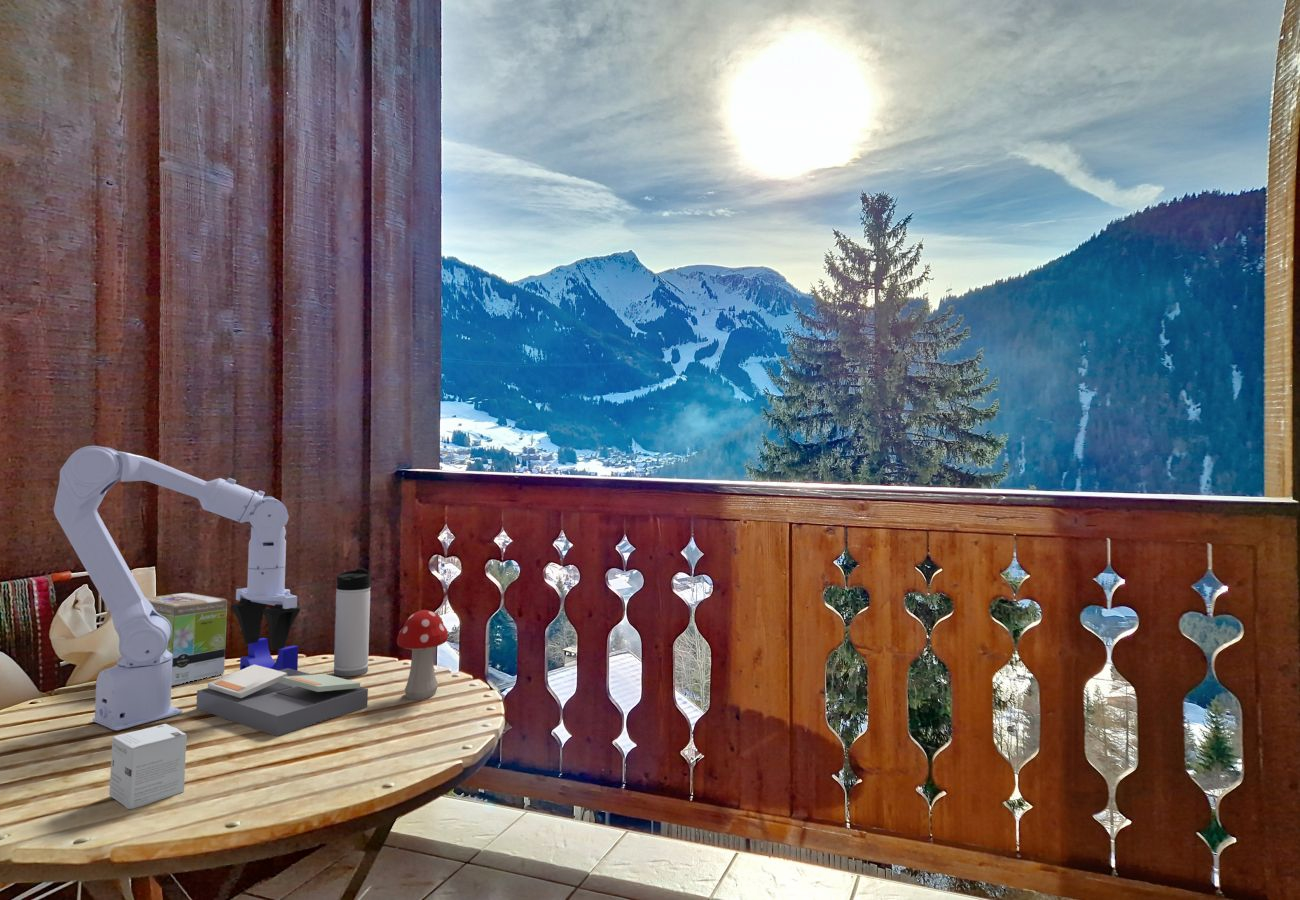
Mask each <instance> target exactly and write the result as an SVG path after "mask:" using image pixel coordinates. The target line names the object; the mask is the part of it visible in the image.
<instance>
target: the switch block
mask: <svg viewBox="0 0 1300 900" xmlns="http://www.w3.org/2000/svg"><path fill="white" fill-rule="evenodd" d="M278 671H281V672H285V673H287V676H302V675H314V674H311V673H308V672H306V671H305V672H304V671H302V670H301V671H300V670H298V671H297V670H293V669H289V668H286V669H282V670H278ZM281 681H282V680H281ZM281 681H279V682H277V683H274V684H272V685H270V686H268V687H265V688H263V689H261V690H259V691H256V692H254V693H252V694H250V695H247V696H245V697H243V698H238V697H235V696H232V695H229V694H226V693H222V692H219V691H216V690H213V689H209V688H208V687H206V688H202V689H197V690H196V704H195V705H196V707H195V708H196V710H199V711H201V712H202V711H203V712H205V713H208V714H211V715H212V716H216V717H220V718H222V719H225V720H229V721H231V722H235V723H237V724H239V725H240V724H241V725H243V726H246V727H249V728H252V729H255V730H257V731H260V732H264V733H267V734H269V735H271V736H272V735H273V736H275V737H280V736H282V734H283V735H286V734H289V733H292V732H295V731H298V730H300V728H301V729H304V728H307V727H309V725H310V726H313V725H315V724H314V723H316V724H318V723H317V722H319V723H321V722H320V721H322V722H324V721H323V720H325V721H327V720H326V719H328V720H330V719H329V718H331V719H334V718H337V717H340V716H343V715H346V714H349V713H352V712H355V711H359V710H361V709H365V708H367V707H368V705H369V704H368V703H369V702H368V700H369V698H368V697H369V696H368V695H369V689H368V688H366V687H362V686H360V688H353V689H343V690H332V691H321V692H316V691H313V690H309V689H305V688H302V687H298V686H295V685H291V684H287V683H284V682H281ZM333 717H334V718H333ZM312 724H313V725H312ZM306 726H307V727H306ZM297 729H298V730H297ZM285 733H286V734H285ZM279 735H280V736H279Z"/></svg>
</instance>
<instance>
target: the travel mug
mask: <svg viewBox="0 0 1300 900" xmlns="http://www.w3.org/2000/svg"><path fill="white" fill-rule="evenodd" d="M335 590H336V593H335V615H334V616H335V621H334V622H335V623H334V624H335V625H334V652H333V653H334V654H333V657H334V658H333V674H334V675H335V676H336V675H337V676H336V677H340V678H342V677H343V678H345V677H346V678H348V677H349V678H350V677H357V676H361V675H365V674H366V673H367V672H368V670H369V648H370V647H369V645H370V644H369V643H370V618H371V617H370V614H371V613H370V611H371V609H370V608H371V571H370V570H367V568H356V569H355V570H348V571H343V572H340V573H338V574H337V575H336V589H335Z"/></svg>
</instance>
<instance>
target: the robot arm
mask: <svg viewBox="0 0 1300 900" xmlns="http://www.w3.org/2000/svg"><path fill="white" fill-rule="evenodd" d="M119 481H120V482H121V483H123V482H141V481H142V482H143V481H145V482H148V483H151V484H155V485H156V486H161V487H163V488H165V489H168V490H169V489H170V490H172V491H173V492H174V491H175V492H178V493H180V494H184V495H187V496H189V497H192V498H195V499H198V501H199V504H200V505H201V508H202V510H204V511H207V512H209V513H210V512H211V513H213V514H216V515H219V516H222V517H224V518H226V519H230V520H232V521H235V522H239V523H241V524H243V523H246V522H248V523H250V525H251V527H250V539H249V542H248V554H247V555H248V561H247V584H246V585H247V587H243V588H237V589H236V591H235V600H236V601H238V603H237V602H236V603H233V604H231V606H230V609H231V610H232V611H233V613H234V615H235V617H236V619H237V621H238V625H239V627H240V631H241V635H242V640H243V643H244V644H245V645H249V644H250V643H255V642H258V640H259V639H260V636H261V628H262V621H263V617H265V620H266V624H267V629H268V636H269V637H268V639H269V640H268V643H269V646H270V648H269V649H270V650H271V651H277V650H278V651H279V649H282V648H284V647H286V644H287V641H288V637H289V634H290V631H291V628H292V625H293V623H294V622H295V620H296V619H297V616H298V615H299V613H300V612H301V607H300V606H298V595H294V594H291V590H290V589H288V588H287V589H286V585H285V584H286V561H287V560H286V557H287V556H286V552H287V540H286V539H285V537H286V535H287V531H286V525H287V524H288V522H289V518H290V516H289V514H288V509H287V507H286V506H285V504H284V503H283V502H282V501H280V500H279V499H276V498H275V497H273V496H264V495H265V493H266V492H265V491H263V490H258V491H255V490H253V489H250V488H248V487H245V486H242V485H240V484H237V483H236V482H237V480H236V479H234V478H231V477H228V478H227V479H223V478H221V477H219V478H214V479H212V480H209V481H206V480H204V479H202V478H199V477H196V476H193V475H191V474H189V473H187V472H184V471H181V470H179V469H176V468H174V467H172V466H170V465H167V464H165V463H162V462H159V461H157V460H155V459H153V458H149V457H146V456H142V455H138V454H135V453H130V452H125V451H118V450H117V449H116V450H115V449H114V448H111V447H107V446H99V445H88V446H84V447H80V448H79V449H77V450H75V451H74V452H73V453H72V454H71V455H70V456H69V457H68V459H67V460H66V462H65V463H64V464H63V466H62V467H61V469H60V470H59V482H58V486H57V492H56V496H55V502H54V505H53V513H54V516H55V518H56V519H57V521H58V524H59V525H60V526H61V528H62V531H63V532H64V534H65V536H66V537H67V539H68V541H69V543H70V545H71V546H72V548H73V550H74V551H75V553H76V555H77V557H78V559H79V560H80V562H81V564H82V565H83V567H84V569H85V571H86V572H87V574H88V576H89V578H90V580H91V582H92V583H93V585H94V586H95V588H96V589H97V590H96V591H98V593H99V595H100V598H101V599H102V601H103V602H104V604H105V606H106V608H107V609H108V611H109V613H110V615H111V619H112V624H113V628H114V630H115V632H116V633H117V636H118V652H119V655H120V657H118V660H117V664H116V665H113V666H111V667H109V668H104V669H102V670H101V671H99V673H98V675H97V678H96V684H95V700H94V701H95V702H94V703H95V705H94V707H95V708H94V717H93V718H92V722H94V723H97V724H99V725H101V726H104V727H106V728H108V729H111V730H114V731H121V730H124V729H129V728H132V727H136V726H139V725H140V726H141V725H143V724H147V723H150V722H151V723H152V722H155V721H158V720H161V719H166V718H169V717H173V716H176V715H181V714H182V713H183V710H182V709H180V708H177V707H175V706H172V686H171V685H172V657H173V654H172V653H170V652H169V651H168V650H167V646H168V641H169V639H170V637H171V634H172V626H171V624H170V622H169V621H168V620H167V619H166V618H165V617H163V616H161V615H160V614H158V613H157V612H156V611H155V609H154V608H153V606H152V604H151V603H150V602H149V601H148V600H147V599H146V598H147V597H146V596H145V594H144V593H143V591H142V589H141V588H140V586H139V584H138V582H137V581H136V579H135V577H134V575H133V573H132V571H131V570H130V568H129V566H128V565H127V563H126V560H125V559H124V557H123V555H122V553H121V552H120V550H119V548H118V547H117V545H116V543H115V541H114V539H113V537H112V536H111V534H110V532H109V530H108V529H107V527H106V525H105V523H104V521H103V519H102V518H101V516H100V514H99V512H98V508H99V506H100V505H101V503H102V501H103V500H104V497H105V496H106V494H107V492H108V491H109V490H110V489H111V488H112V487H113V486H115V485H116V483H117V482H119ZM268 605H269V606H274V607H272V608H271V607H269V608H267V606H268Z"/></svg>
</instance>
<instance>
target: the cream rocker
mask: <svg viewBox="0 0 1300 900" xmlns="http://www.w3.org/2000/svg"><path fill="white" fill-rule="evenodd" d="M282 677H288V676H287V673H285V672H281V671H277V670H274V669H270V668H266V667H262V666H258V665H255V664H254V665H252V666H249V667H247V668H244V669H242V670H240V669H239V670H237V671H234V672H232V673H229V674H227V675H225V676H223V677H220V678H217V679H216V680H215V679H214V680H212V681H210V682H208V683H207V688H209V689H213V690H216V691H219V692H222V693H226V694H229V695H232V696H235V697H238V698H243V697H245V696H247V695H250V694H252V693H254V692H256V691H259V690H261V689H263V688H265V687H268V686H270V685H272V684H274V683H277V682H279V681H281V680H282Z"/></svg>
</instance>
